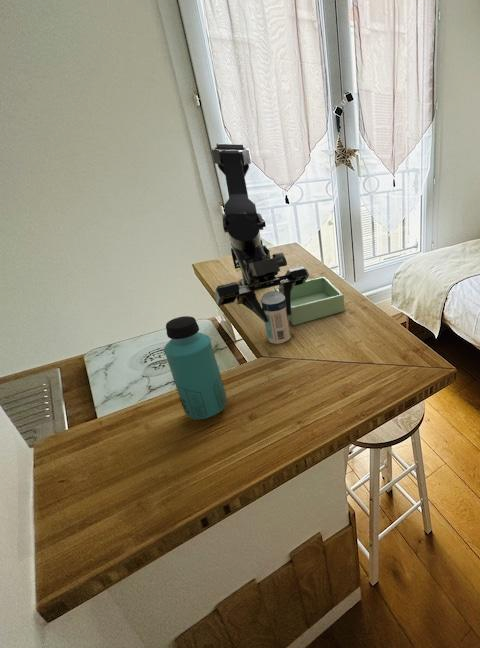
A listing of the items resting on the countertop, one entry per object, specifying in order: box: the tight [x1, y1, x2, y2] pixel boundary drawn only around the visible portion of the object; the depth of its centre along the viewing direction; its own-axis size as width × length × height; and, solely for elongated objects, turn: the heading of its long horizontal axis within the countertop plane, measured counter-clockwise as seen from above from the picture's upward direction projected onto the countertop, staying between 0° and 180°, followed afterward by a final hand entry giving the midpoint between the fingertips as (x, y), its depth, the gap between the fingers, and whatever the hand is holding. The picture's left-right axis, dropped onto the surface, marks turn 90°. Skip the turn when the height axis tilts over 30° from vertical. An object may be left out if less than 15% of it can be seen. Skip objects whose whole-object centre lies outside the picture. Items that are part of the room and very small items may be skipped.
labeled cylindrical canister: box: [260, 290, 292, 345], centre depth 91 cm, size 5×5×12 cm
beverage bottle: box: [163, 315, 228, 420], centre depth 68 cm, size 6×7×20 cm
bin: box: [273, 276, 345, 326], centre depth 107 cm, size 13×13×5 cm
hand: (278, 318), depth 90 cm, fingers closed on labeled cylindrical canister, 5 cm apart
